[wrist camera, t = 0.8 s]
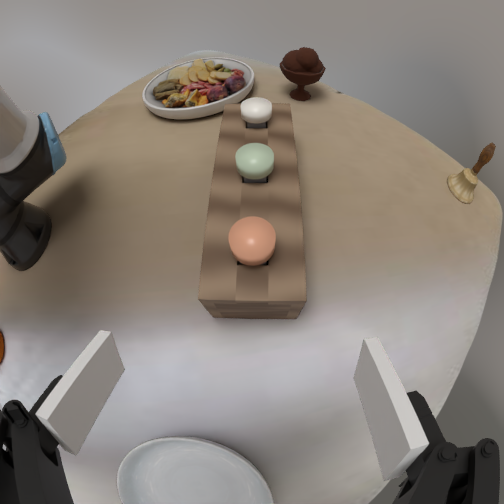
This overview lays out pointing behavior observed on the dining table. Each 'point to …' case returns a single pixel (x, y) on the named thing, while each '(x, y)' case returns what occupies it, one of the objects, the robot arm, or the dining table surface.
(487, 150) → the hand bell
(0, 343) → the wine bottle
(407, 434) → the robot arm
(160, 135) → the dining table surface
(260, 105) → the cream button
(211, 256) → the console
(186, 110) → the bowl
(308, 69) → the ice cream bowl
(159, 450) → the serving bowl
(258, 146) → the sage button
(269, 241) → the terracotta button
